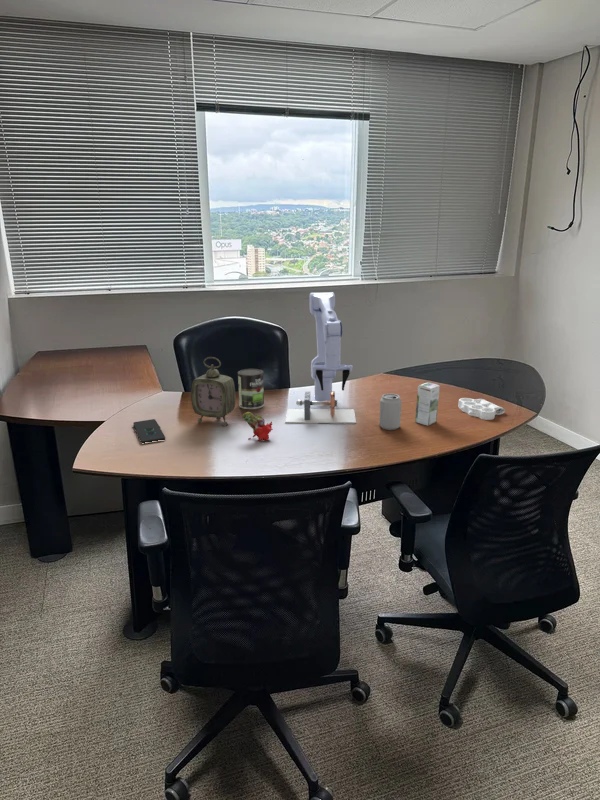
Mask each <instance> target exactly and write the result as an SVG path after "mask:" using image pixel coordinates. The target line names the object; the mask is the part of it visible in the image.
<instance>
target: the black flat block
mask: <svg viewBox="0 0 600 800" xmlns="http://www.w3.org/2000/svg"><path fill="white" fill-rule="evenodd" d="M133 428H135V429H134V431H135V430H136V431H135V432H137V433H138V435H137V437H138V436H139V437H138V439H139V438H140V439H139V441H140V440H141V441H140V443H141V442H142V443H145V442H152V441H158V440H165V441H166V436H165V434H164V432H163V431H162V429H161V427H160V426H159V424H158V422H157V420H156V419H155V418H154V419H153V418H152V419H146V420H139V421H134V422H133ZM137 433H136V434H137ZM142 443H141V444H142Z"/></svg>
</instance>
